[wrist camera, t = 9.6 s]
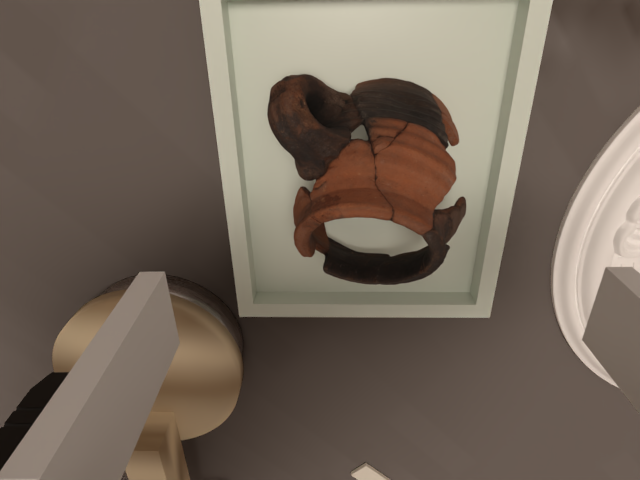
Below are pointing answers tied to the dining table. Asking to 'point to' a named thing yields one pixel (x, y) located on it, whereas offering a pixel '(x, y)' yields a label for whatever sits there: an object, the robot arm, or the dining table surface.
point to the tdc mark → (368, 473)
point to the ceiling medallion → (597, 235)
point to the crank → (169, 382)
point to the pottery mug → (369, 170)
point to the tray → (343, 75)
